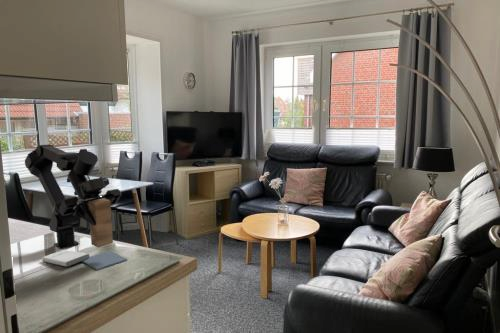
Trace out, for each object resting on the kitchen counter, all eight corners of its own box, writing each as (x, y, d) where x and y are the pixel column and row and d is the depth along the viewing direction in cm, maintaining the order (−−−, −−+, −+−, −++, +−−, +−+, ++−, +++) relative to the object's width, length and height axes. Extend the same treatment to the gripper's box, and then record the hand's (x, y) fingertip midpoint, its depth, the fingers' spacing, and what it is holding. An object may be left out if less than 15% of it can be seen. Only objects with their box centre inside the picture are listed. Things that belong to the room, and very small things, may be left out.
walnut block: (91, 244, 115) (88, 201, 113) (106, 240, 119) (103, 198, 117) (98, 247, 113) (95, 203, 111) (112, 242, 117) (110, 200, 115)
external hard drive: (66, 267, 111) (42, 261, 117) (89, 258, 118) (66, 253, 124) (65, 262, 110) (41, 256, 117) (89, 253, 117) (65, 248, 124)
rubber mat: (80, 261, 117) (80, 259, 117) (110, 252, 124) (110, 250, 124) (96, 270, 110) (96, 268, 109) (127, 260, 117) (127, 258, 117)
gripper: (60, 172, 108) (82, 214, 103) (116, 165, 122) (138, 201, 117) (50, 195, 113) (70, 236, 108) (105, 185, 128) (125, 221, 123)
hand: (103, 222), depth 114 cm, fingers closed on walnut block, 5 cm apart
